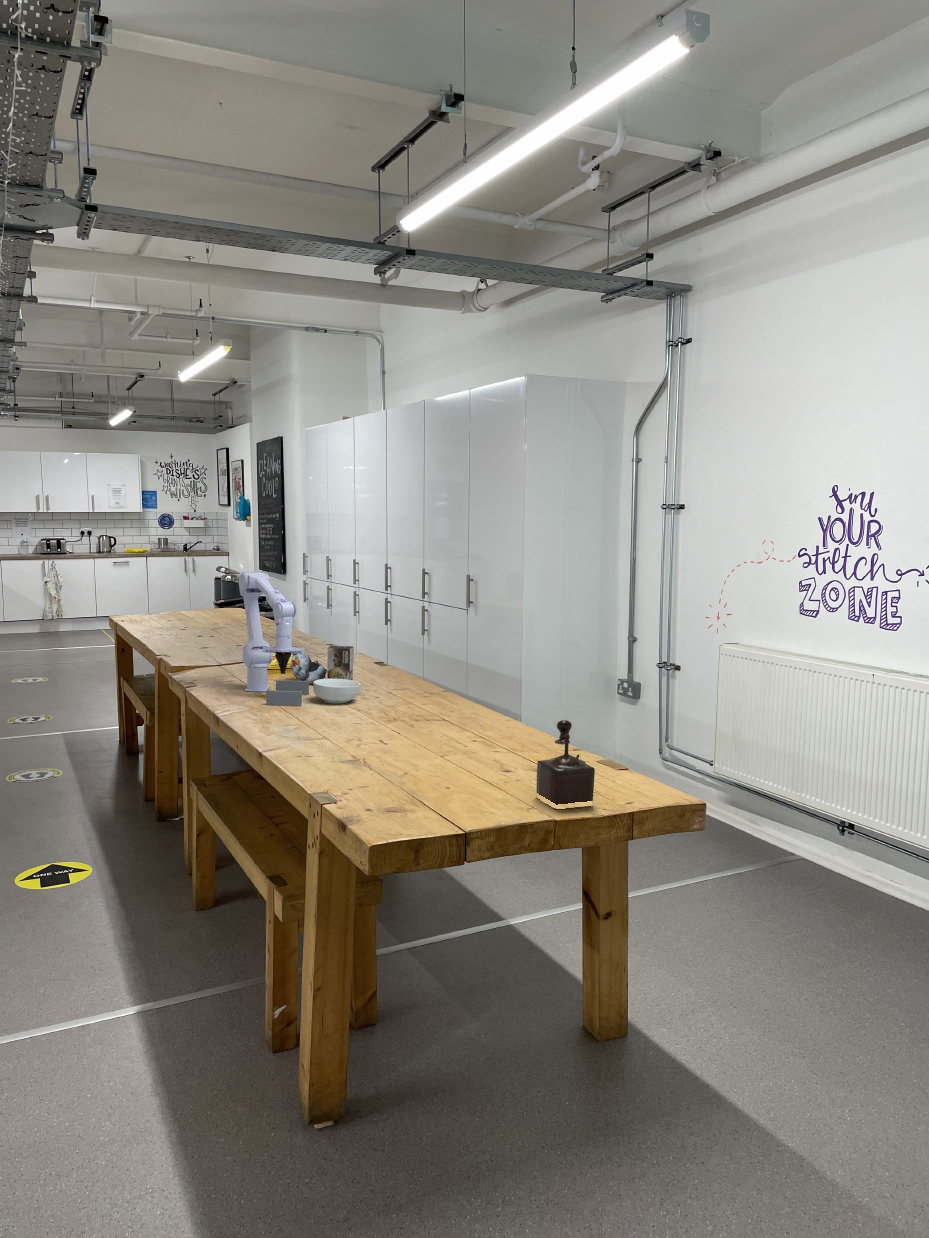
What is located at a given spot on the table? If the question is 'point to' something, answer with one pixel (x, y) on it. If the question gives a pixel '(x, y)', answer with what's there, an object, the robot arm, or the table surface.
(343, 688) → the cereal bowl
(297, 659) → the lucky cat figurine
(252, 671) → the robot arm
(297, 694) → the gray parallel panels
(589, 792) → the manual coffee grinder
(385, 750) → the table surface
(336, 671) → the coffee box
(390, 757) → the table surface
